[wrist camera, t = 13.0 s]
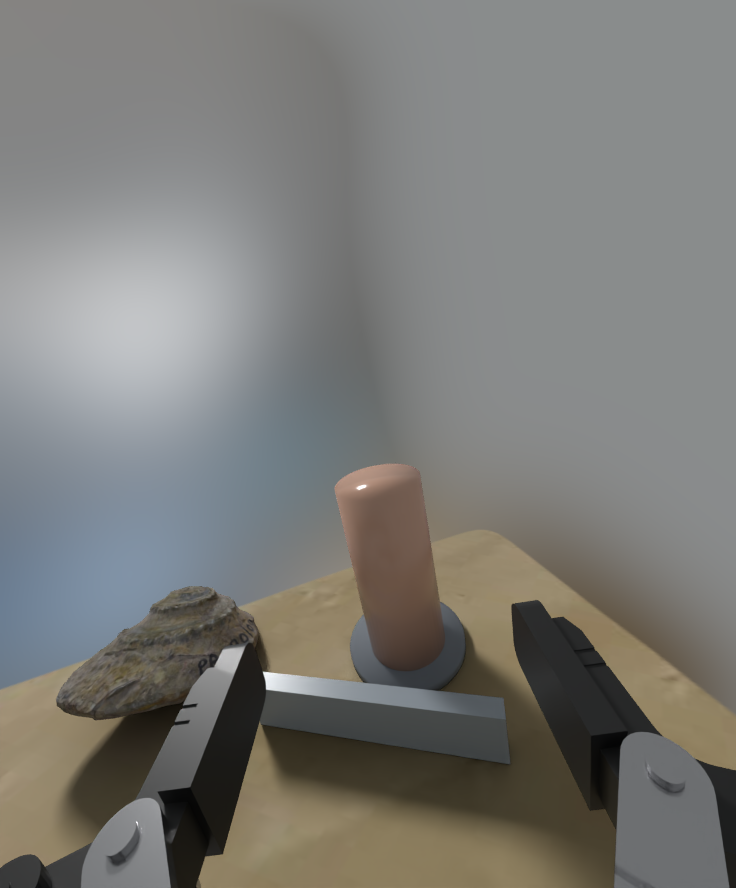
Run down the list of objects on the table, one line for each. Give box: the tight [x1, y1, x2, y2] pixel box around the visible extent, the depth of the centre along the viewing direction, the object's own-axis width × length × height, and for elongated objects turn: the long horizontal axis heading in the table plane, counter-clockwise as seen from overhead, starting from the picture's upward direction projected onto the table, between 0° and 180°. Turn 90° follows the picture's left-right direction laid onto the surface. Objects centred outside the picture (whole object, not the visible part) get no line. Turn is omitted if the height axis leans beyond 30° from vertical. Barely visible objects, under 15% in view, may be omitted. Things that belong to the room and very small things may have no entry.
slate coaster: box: [350, 602, 466, 691], centre depth 24 cm, size 8×8×1 cm
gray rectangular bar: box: [260, 672, 510, 764], centre depth 19 cm, size 14×1×3 cm, turn 75°
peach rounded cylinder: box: [335, 464, 445, 671], centre depth 22 cm, size 5×5×12 cm
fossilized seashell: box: [56, 586, 259, 720], centre depth 24 cm, size 11×11×7 cm
